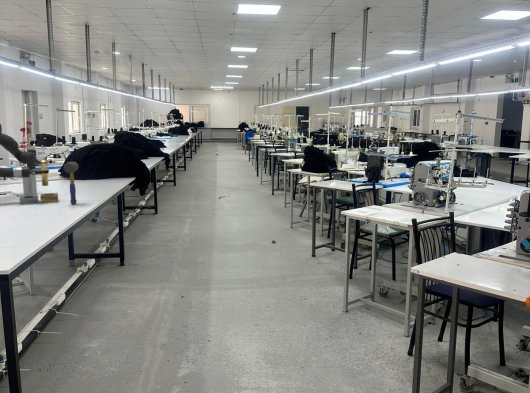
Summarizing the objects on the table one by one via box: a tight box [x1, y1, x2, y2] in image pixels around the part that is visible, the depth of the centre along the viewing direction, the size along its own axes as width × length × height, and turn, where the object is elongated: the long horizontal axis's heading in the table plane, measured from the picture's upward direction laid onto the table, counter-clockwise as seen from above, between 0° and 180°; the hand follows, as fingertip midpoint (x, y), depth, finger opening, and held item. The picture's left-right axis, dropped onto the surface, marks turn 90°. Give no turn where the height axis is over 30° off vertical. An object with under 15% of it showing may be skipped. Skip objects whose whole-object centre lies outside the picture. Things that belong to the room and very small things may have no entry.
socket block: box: [18, 194, 40, 205], centre depth 306 cm, size 12×11×4 cm
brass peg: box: [39, 159, 49, 187], centre depth 307 cm, size 4×4×18 cm
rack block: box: [40, 192, 59, 204], centre depth 311 cm, size 12×11×5 cm
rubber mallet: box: [63, 161, 79, 206], centre depth 300 cm, size 12×8×30 cm, turn 9°
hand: (48, 171), depth 308 cm, fingers closed on brass peg, 4 cm apart
